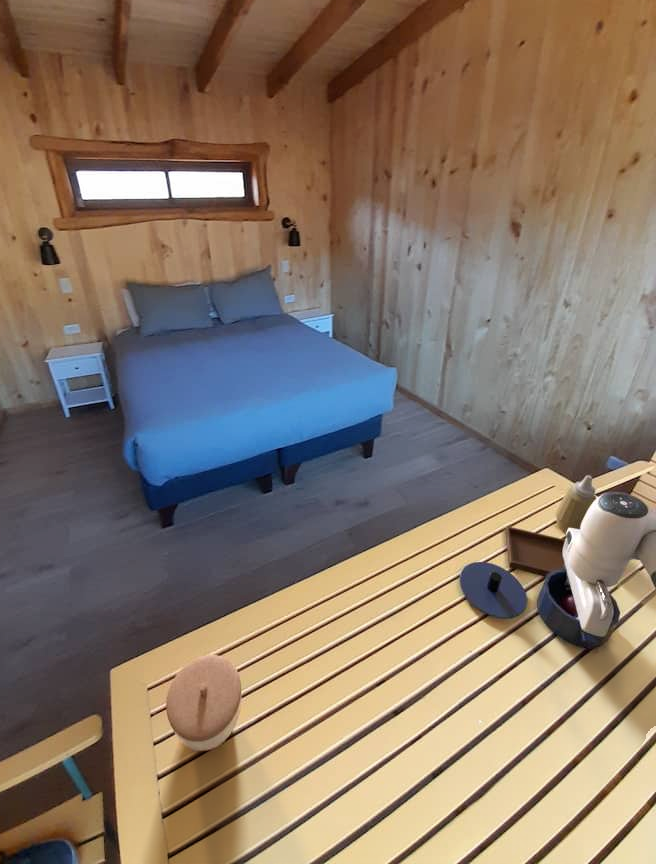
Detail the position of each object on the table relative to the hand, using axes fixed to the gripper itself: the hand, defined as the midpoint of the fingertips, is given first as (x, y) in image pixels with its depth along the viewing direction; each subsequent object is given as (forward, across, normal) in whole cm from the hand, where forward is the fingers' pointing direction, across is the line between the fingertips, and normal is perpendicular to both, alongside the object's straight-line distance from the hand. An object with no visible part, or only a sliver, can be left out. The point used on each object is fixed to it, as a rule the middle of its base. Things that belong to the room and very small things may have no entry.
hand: (573, 605), depth 87 cm
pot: (+4, 0, 0) cm, 4 cm away
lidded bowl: (+5, -44, +64) cm, 78 cm away
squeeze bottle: (+4, +29, -6) cm, 30 cm away
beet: (+3, 0, 0) cm, 3 cm away
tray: (+4, +16, +2) cm, 16 cm away
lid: (+3, +1, +16) cm, 16 cm away
